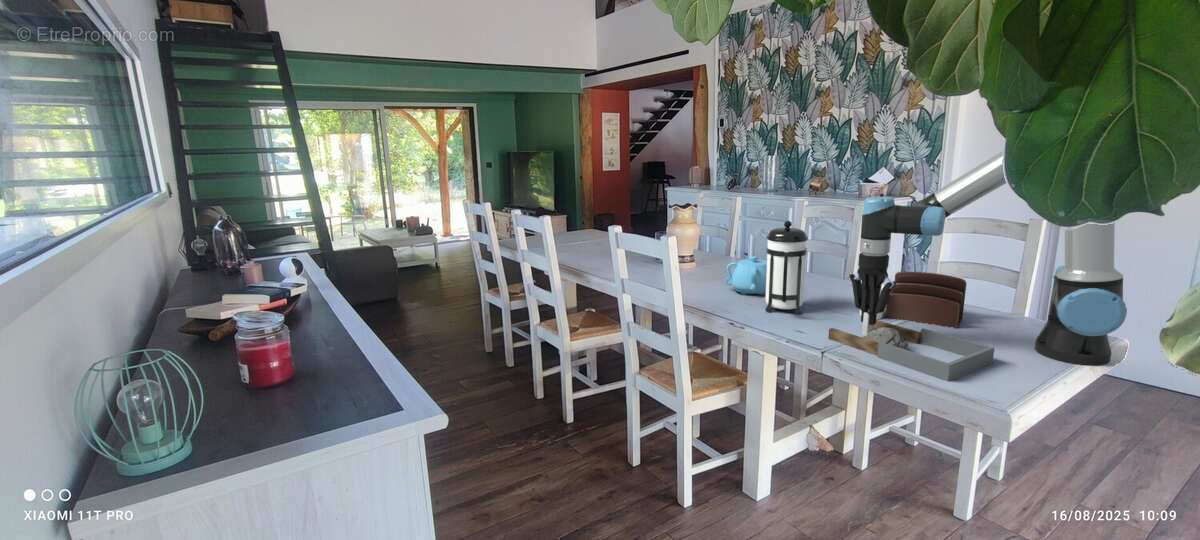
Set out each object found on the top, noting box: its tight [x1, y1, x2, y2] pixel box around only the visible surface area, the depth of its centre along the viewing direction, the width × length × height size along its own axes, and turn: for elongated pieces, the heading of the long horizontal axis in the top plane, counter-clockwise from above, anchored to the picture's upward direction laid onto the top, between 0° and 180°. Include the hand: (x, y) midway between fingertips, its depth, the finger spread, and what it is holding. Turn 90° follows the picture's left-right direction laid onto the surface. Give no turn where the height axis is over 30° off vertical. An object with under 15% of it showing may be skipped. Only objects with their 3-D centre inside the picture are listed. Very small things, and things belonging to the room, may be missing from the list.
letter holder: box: [885, 271, 967, 329], centre depth 175 cm, size 10×20×14 cm, turn 51°
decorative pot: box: [725, 255, 767, 296], centre depth 210 cm, size 16×16×14 cm
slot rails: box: [828, 319, 921, 356], centre depth 158 cm, size 16×18×3 cm
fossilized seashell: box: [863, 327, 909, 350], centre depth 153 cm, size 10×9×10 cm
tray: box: [876, 328, 995, 382], centre depth 144 cm, size 18×20×4 cm
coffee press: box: [765, 220, 809, 316], centre depth 185 cm, size 17×16×30 cm
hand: (867, 334), depth 160 cm, fingers closed
